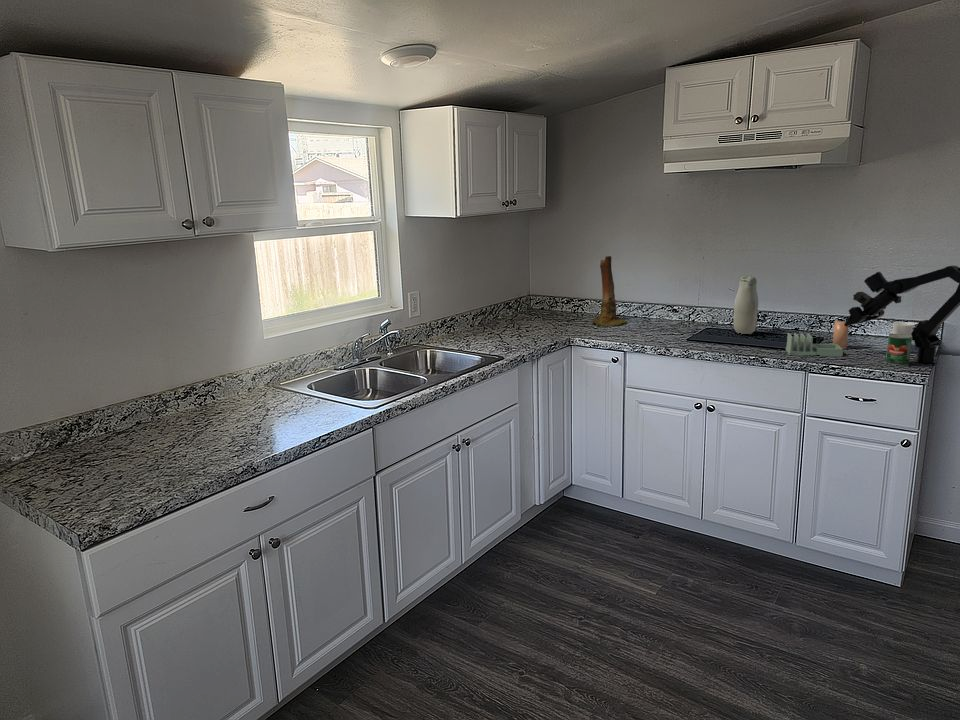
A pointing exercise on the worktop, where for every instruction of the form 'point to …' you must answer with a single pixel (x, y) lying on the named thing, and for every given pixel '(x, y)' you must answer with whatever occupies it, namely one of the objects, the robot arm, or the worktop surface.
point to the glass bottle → (746, 306)
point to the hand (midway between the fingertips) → (850, 324)
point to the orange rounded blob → (840, 334)
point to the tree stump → (608, 297)
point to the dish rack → (810, 346)
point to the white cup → (903, 328)
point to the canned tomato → (898, 349)
